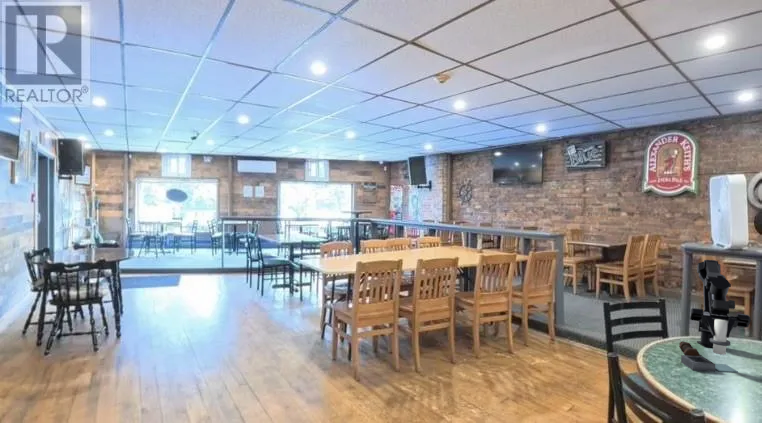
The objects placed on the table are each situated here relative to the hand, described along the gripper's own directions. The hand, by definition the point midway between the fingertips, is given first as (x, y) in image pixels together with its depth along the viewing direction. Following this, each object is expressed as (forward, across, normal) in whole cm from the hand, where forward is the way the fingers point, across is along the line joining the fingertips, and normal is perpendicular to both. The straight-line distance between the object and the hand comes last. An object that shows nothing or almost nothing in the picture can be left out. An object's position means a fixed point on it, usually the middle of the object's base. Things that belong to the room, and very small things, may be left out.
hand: (720, 336), depth 165 cm
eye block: (+11, -7, +8) cm, 15 cm away
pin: (+4, 0, +6) cm, 7 cm away
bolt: (+1, -9, +18) cm, 20 cm away
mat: (+8, +1, +11) cm, 14 cm away
